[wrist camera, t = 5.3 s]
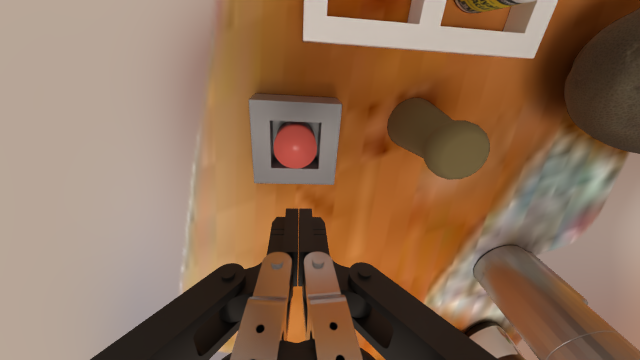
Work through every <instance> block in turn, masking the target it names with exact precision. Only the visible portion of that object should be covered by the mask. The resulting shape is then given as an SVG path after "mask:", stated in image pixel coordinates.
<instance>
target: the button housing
mask: <svg viewBox="0 0 640 360" xmlns="http://www.w3.org/2000/svg"><path fill="white" fill-rule="evenodd" d="M249 111H250V126H251V141H252V156H253V170H254V183H278V184H328V185H334V179H335V169H336V160H337V150H338V140H339V131H340V121H341V111H342V104H341V102H340V101H339V100H338V99H337V98H330V97H312V96H294V95H276V94H259V93H255V94H254V95H253V96H252V97H251V98H250V99H249ZM288 121H293V122H304V123H306V124H308V125H309V126H310V127H311V129H312V130H313V132H314V135H315V140H316V145H317V152H316V156H315V158H314V159H313V161H312V162H311V163H310V164H309V165H307V166H305V167H303V168H298V169H294V168H289V167H286V166H284V165H282V164H281V163H280V162H279V161H278V160H277V158H276V156H275V154H274V142H275V138H276V135H277V132H278V130H279V128H280V127H281V126H282V125H283V124H284V123H286V122H288Z"/></svg>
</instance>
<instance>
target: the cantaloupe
mask: <svg viewBox="0 0 640 360" xmlns="http://www.w3.org/2000/svg"><path fill="white" fill-rule="evenodd" d="M564 98H565V102H566V105H567V111H568V113H569V115H570V117H571V119H572V120H573V122H574V123H575V124H576V125H577V126H578V127H579V128H581V129H582V130H583V131H585V132H586V133H587V134H589V135H591V136H592V137H593V138H595V139H597V140H599V141H601V142H603V143H605V144H607V145H610V146H612V147H615V148H618V149H621V150H625V151H629V152H633V153H638V154H640V8H639V9H637V10H636V11H634V12H632V13H630V14H628V15H626V16H624V17H622V18H620V19H618V20H616V21H615V22H613V23H611V24H610V25H608V26H607V27H605V28H604V29H603V30H601V31H600V32H599V33H598V34H597V35H596V36H595V37H593V38H592V39H591V40H590V41H589V42H588V43H587V44H586V45H585V46H584V47H583V48H582V49H581V51H580V52H579V54H578V55H577V57H576V58H575V60H574V62H573V66H572V70H571V71H570V73H569V75H568V76H567V78H566V81H565V90H564Z"/></svg>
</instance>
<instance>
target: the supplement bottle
mask: <svg viewBox="0 0 640 360" xmlns="http://www.w3.org/2000/svg"><path fill="white" fill-rule="evenodd" d="M532 1H536V0H455V2H456V4H457V5H458V7H459V8H460V9H461V10H463V11H465V12H468V13H480V12H485V11H490V10H495V9H500V8H505V7H510V6H515V5H519V4H524V3H529V2H532Z"/></svg>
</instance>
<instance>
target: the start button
mask: <svg viewBox="0 0 640 360" xmlns="http://www.w3.org/2000/svg"><path fill="white" fill-rule="evenodd" d="M316 152H317V145H316V140H315V135H314V132H313V130H312V129H311V127H310V126H309V125H308V124H306V123H304V122H293V121H288V122H286V123H284V124H283V125H282V126H281V127H280V128H279V130H278V132H277V135H276V138H275V142H274V154H275V156H276V158H277V160H278V161H279V162H280V163H281V164H282V165H284V166H286V167H289V168H294V169H298V168H303V167H305V166H307V165H309V164H310V163H311V162H312V161H313V159H314V158H315V156H316Z"/></svg>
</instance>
